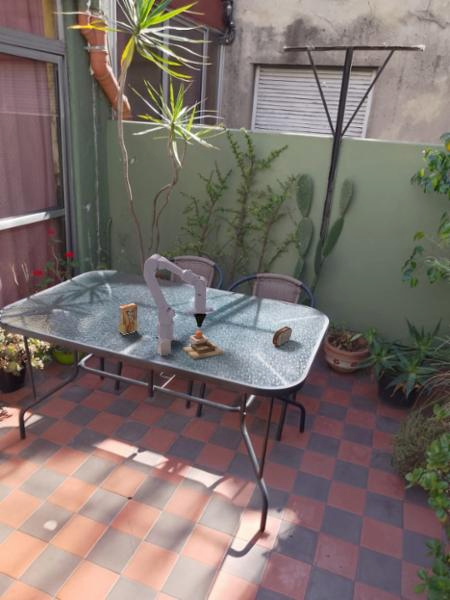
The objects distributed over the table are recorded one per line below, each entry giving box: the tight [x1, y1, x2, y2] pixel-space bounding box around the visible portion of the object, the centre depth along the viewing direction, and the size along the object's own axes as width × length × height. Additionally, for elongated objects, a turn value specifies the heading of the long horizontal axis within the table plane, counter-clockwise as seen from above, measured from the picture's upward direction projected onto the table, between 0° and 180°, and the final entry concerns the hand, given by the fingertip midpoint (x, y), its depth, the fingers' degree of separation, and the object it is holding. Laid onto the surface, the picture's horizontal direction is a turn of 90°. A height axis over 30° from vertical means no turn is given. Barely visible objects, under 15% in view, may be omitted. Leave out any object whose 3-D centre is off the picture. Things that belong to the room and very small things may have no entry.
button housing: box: [189, 334, 209, 344], centre depth 229 cm, size 7×7×3 cm
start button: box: [194, 330, 204, 340], centre depth 228 cm, size 4×4×4 cm
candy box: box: [118, 302, 138, 334], centre depth 234 cm, size 9×4×15 cm, turn 137°
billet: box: [157, 338, 172, 357], centre depth 215 cm, size 4×5×7 cm
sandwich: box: [272, 325, 293, 347], centre depth 233 cm, size 15×3×8 cm, turn 141°
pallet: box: [182, 340, 224, 361], centre depth 220 cm, size 12×16×3 cm
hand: (199, 326), depth 227 cm, fingers closed
